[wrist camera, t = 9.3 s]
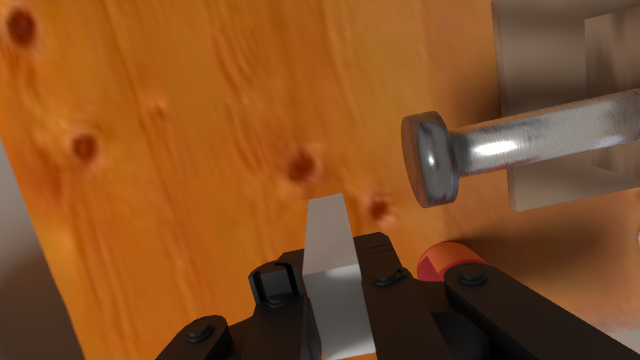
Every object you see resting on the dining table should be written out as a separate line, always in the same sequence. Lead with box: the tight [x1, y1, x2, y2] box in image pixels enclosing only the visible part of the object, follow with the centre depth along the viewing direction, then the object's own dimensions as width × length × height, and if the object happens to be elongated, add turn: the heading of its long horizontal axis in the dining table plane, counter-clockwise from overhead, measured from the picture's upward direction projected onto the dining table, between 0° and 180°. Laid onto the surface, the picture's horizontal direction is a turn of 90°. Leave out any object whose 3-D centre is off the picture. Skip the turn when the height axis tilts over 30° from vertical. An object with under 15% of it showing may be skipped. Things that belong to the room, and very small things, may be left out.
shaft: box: [401, 88, 640, 208], centre depth 21 cm, size 6×18×6 cm, turn 103°
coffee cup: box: [417, 242, 489, 281], centre depth 28 cm, size 8×8×15 cm
